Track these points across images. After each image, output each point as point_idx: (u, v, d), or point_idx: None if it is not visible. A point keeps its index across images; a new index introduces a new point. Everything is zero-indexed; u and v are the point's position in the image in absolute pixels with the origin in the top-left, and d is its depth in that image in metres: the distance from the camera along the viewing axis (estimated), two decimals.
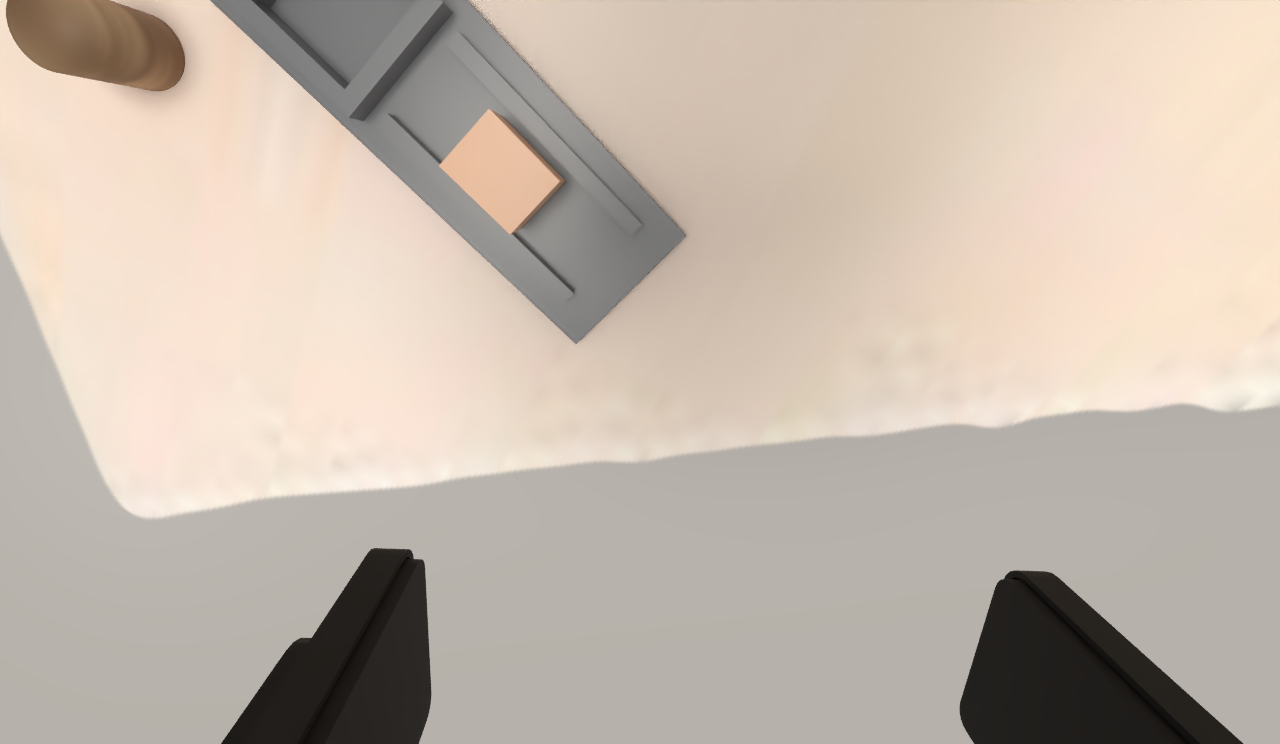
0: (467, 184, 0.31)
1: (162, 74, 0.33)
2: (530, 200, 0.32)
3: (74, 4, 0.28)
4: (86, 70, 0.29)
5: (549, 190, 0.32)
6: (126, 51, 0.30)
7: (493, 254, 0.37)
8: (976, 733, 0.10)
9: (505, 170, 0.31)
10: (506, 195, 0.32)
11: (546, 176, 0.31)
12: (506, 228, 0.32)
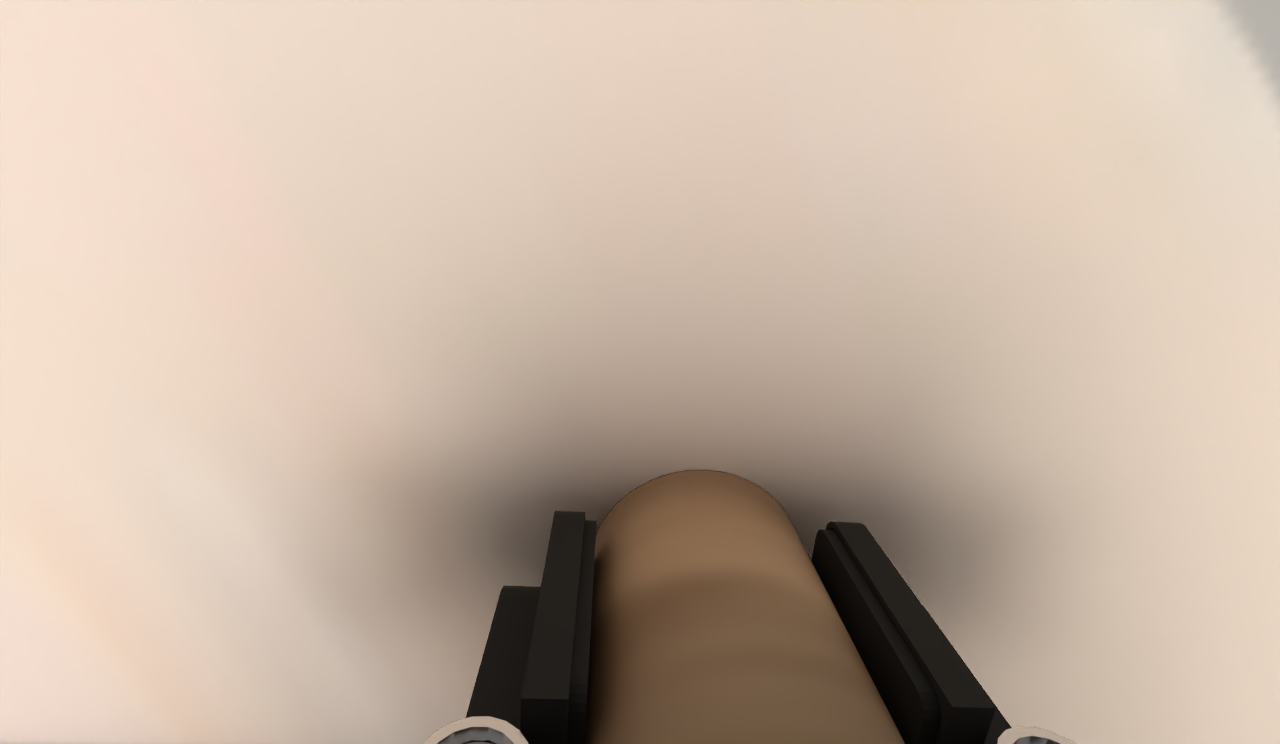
0: None
1: None
2: None
3: None
4: None
5: None
6: None
7: None
8: None
9: None
10: None
11: None
12: None
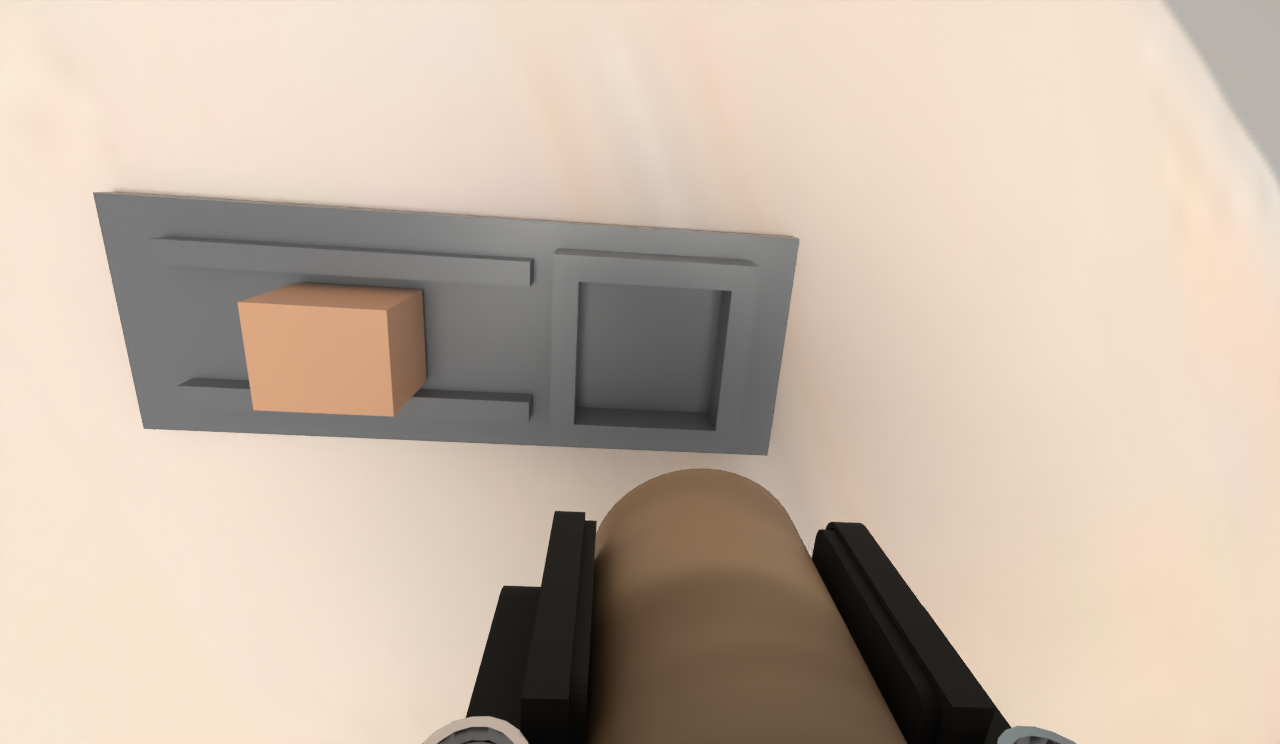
0: (339, 317, 0.20)
1: None
2: (259, 362, 0.21)
3: None
4: None
5: (253, 390, 0.21)
6: None
7: (297, 220, 0.23)
8: None
9: (317, 370, 0.21)
10: (287, 345, 0.21)
11: (271, 402, 0.21)
12: (248, 306, 0.20)
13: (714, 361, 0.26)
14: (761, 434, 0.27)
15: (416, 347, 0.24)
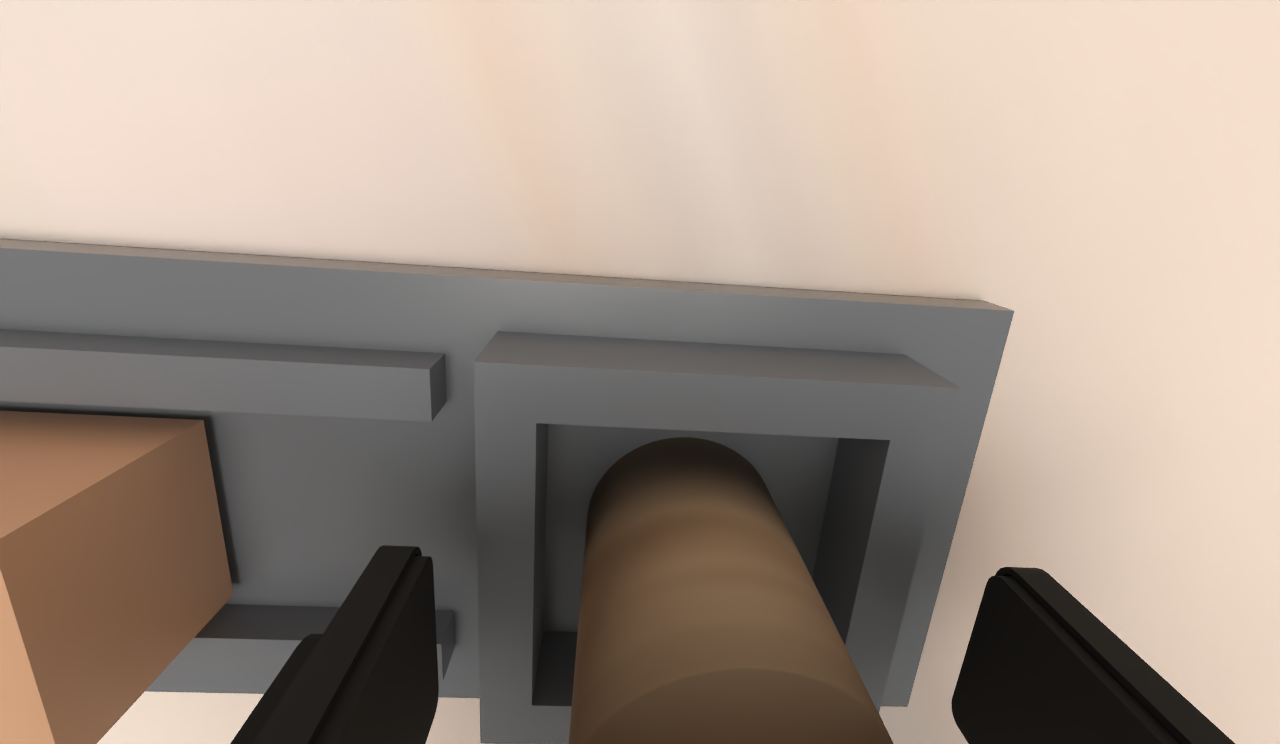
0: None
1: None
2: None
3: None
4: (577, 734, 0.07)
5: None
6: None
7: None
8: (967, 729, 0.10)
9: None
10: None
11: None
12: None
13: (819, 549, 0.13)
14: (899, 673, 0.14)
15: (183, 552, 0.11)
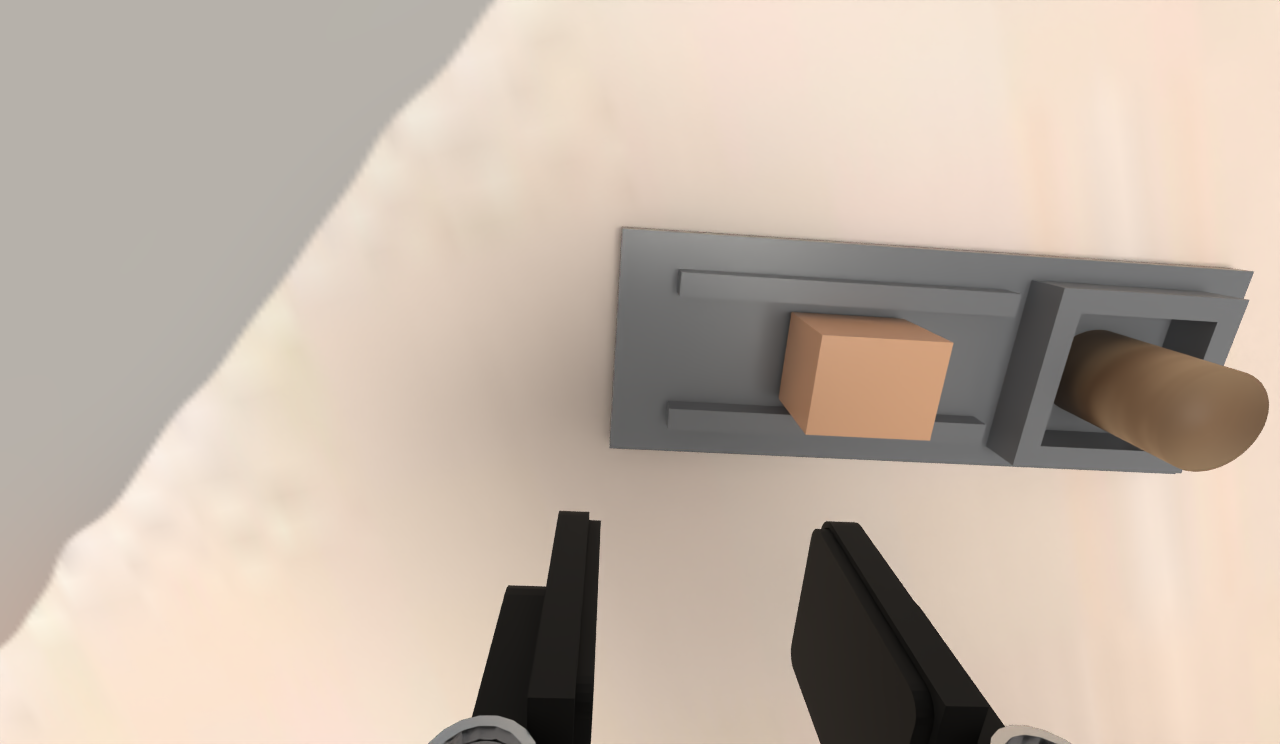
0: (909, 349, 0.22)
1: (1068, 381, 0.26)
2: (825, 390, 0.22)
3: (1192, 460, 0.22)
4: (1164, 399, 0.21)
5: (810, 416, 0.23)
6: (1118, 421, 0.23)
7: (800, 254, 0.25)
8: (799, 671, 0.11)
9: (874, 397, 0.22)
10: (855, 374, 0.22)
11: (823, 427, 0.23)
12: (831, 338, 0.22)
13: None
14: None
15: None
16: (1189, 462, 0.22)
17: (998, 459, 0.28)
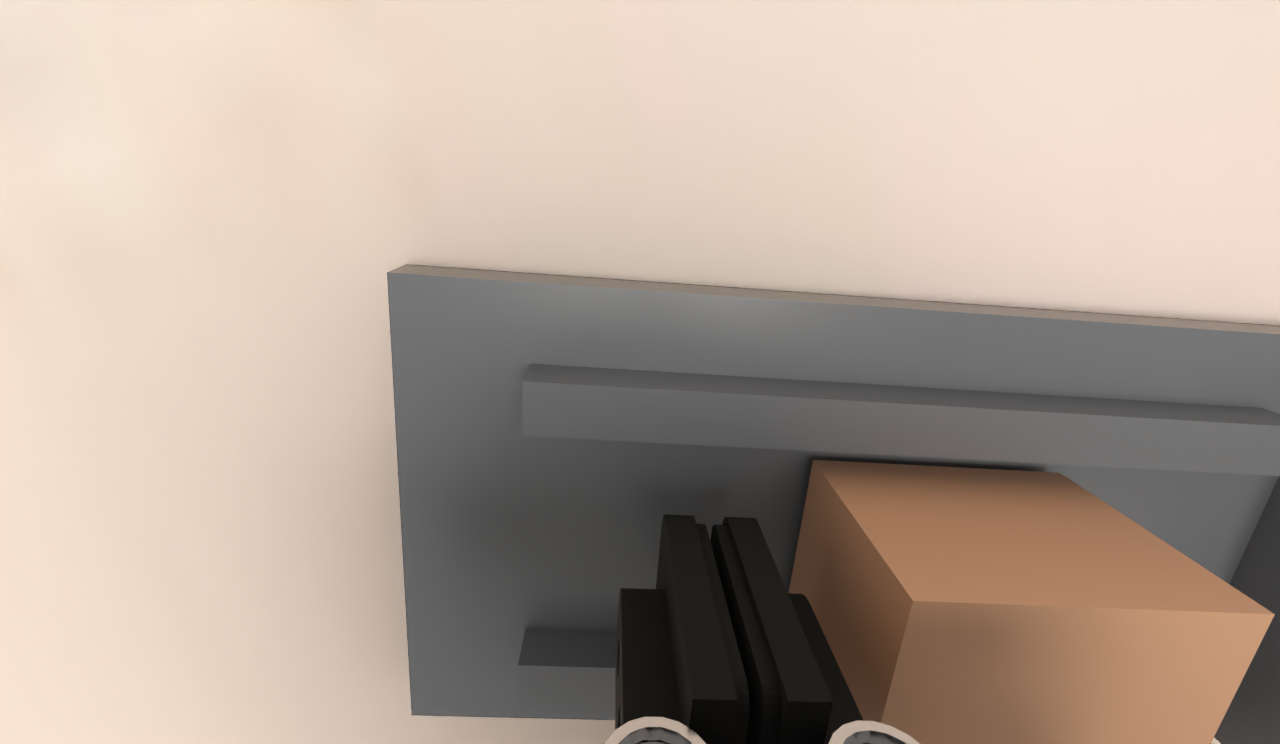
0: (1150, 632, 0.08)
1: None
2: (910, 728, 0.08)
3: None
4: None
5: None
6: None
7: (811, 331, 0.11)
8: None
9: (1040, 742, 0.08)
10: (995, 691, 0.08)
11: None
12: (938, 610, 0.08)
13: None
14: None
15: None
16: None
17: None
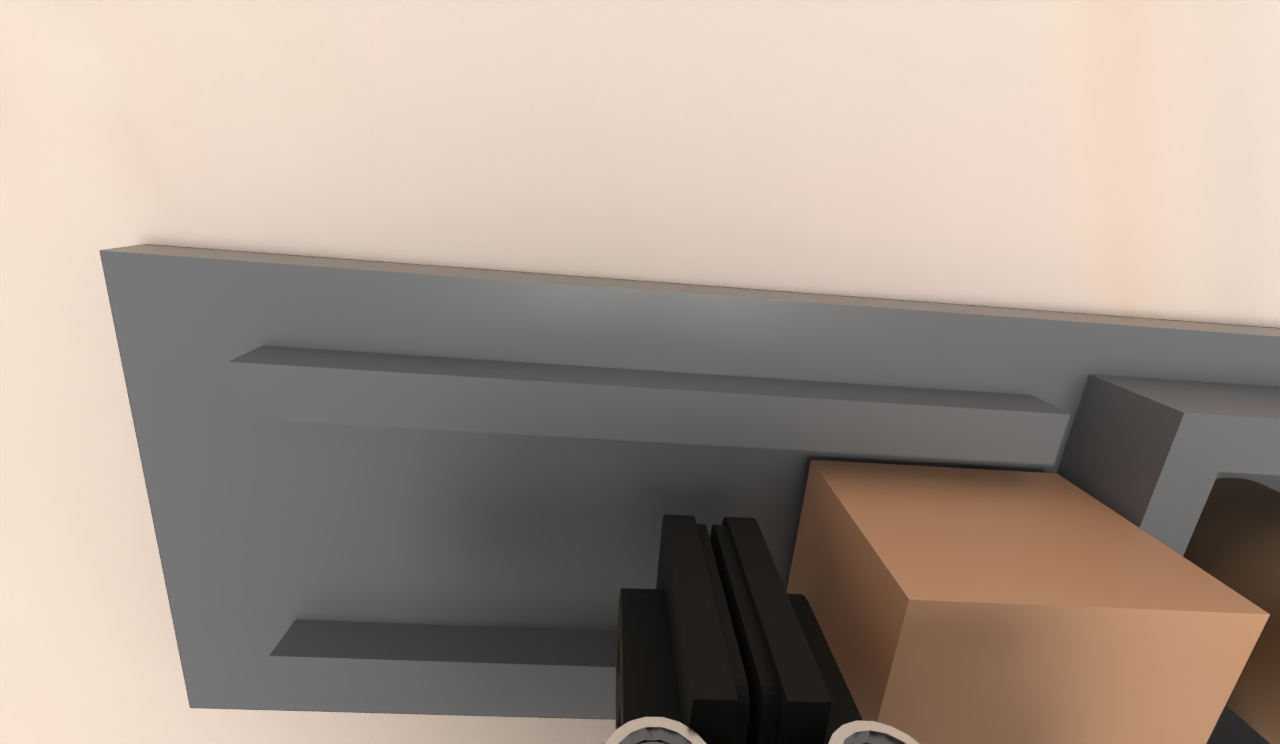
0: (1146, 632, 0.08)
1: None
2: (907, 727, 0.08)
3: None
4: None
5: None
6: None
7: (551, 314, 0.11)
8: None
9: (1037, 741, 0.08)
10: (991, 690, 0.08)
11: None
12: (934, 608, 0.08)
13: None
14: None
15: None
16: None
17: None
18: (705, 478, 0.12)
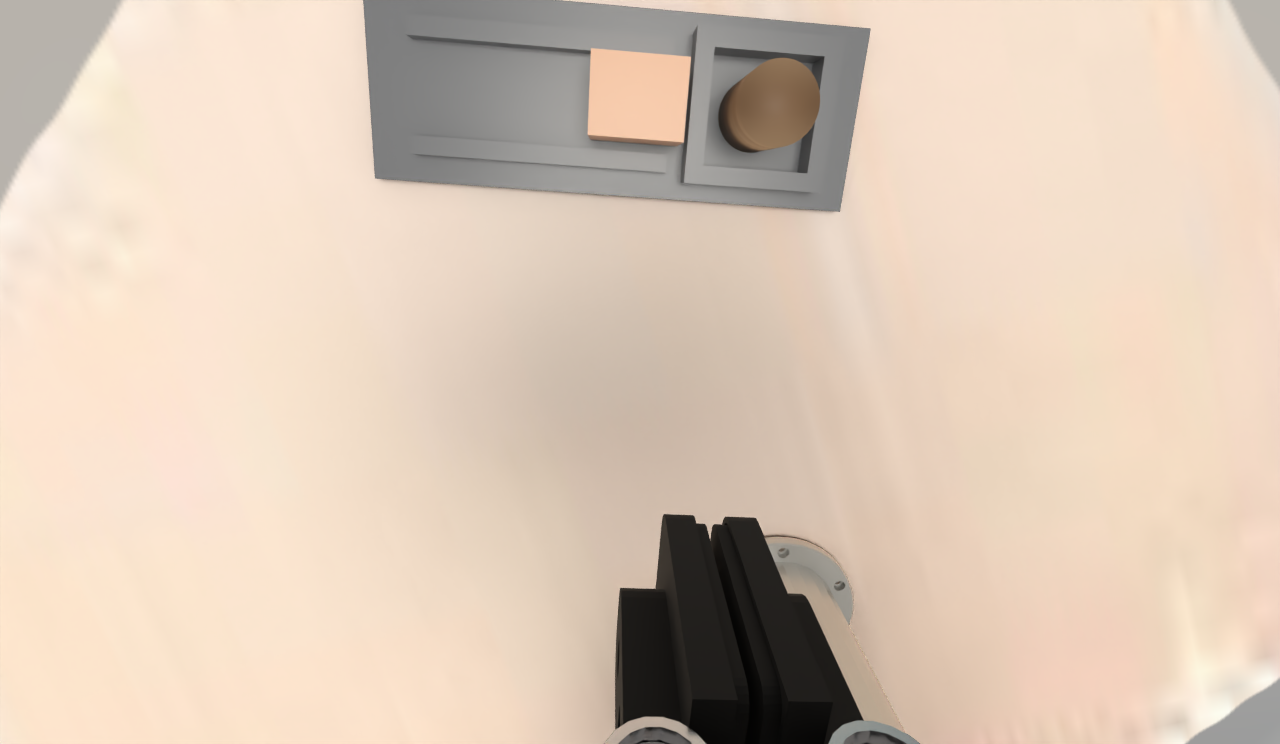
0: (658, 62, 0.29)
1: (722, 112, 0.33)
2: (598, 96, 0.30)
3: (770, 137, 0.29)
4: (741, 85, 0.29)
5: (589, 119, 0.30)
6: (733, 122, 0.30)
7: (505, 7, 0.32)
8: None
9: (636, 103, 0.30)
10: (619, 82, 0.30)
11: (600, 129, 0.30)
12: (598, 51, 0.29)
13: None
14: (836, 193, 0.36)
15: None
16: (768, 138, 0.29)
17: (692, 195, 0.36)
18: (562, 75, 0.33)
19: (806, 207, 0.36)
